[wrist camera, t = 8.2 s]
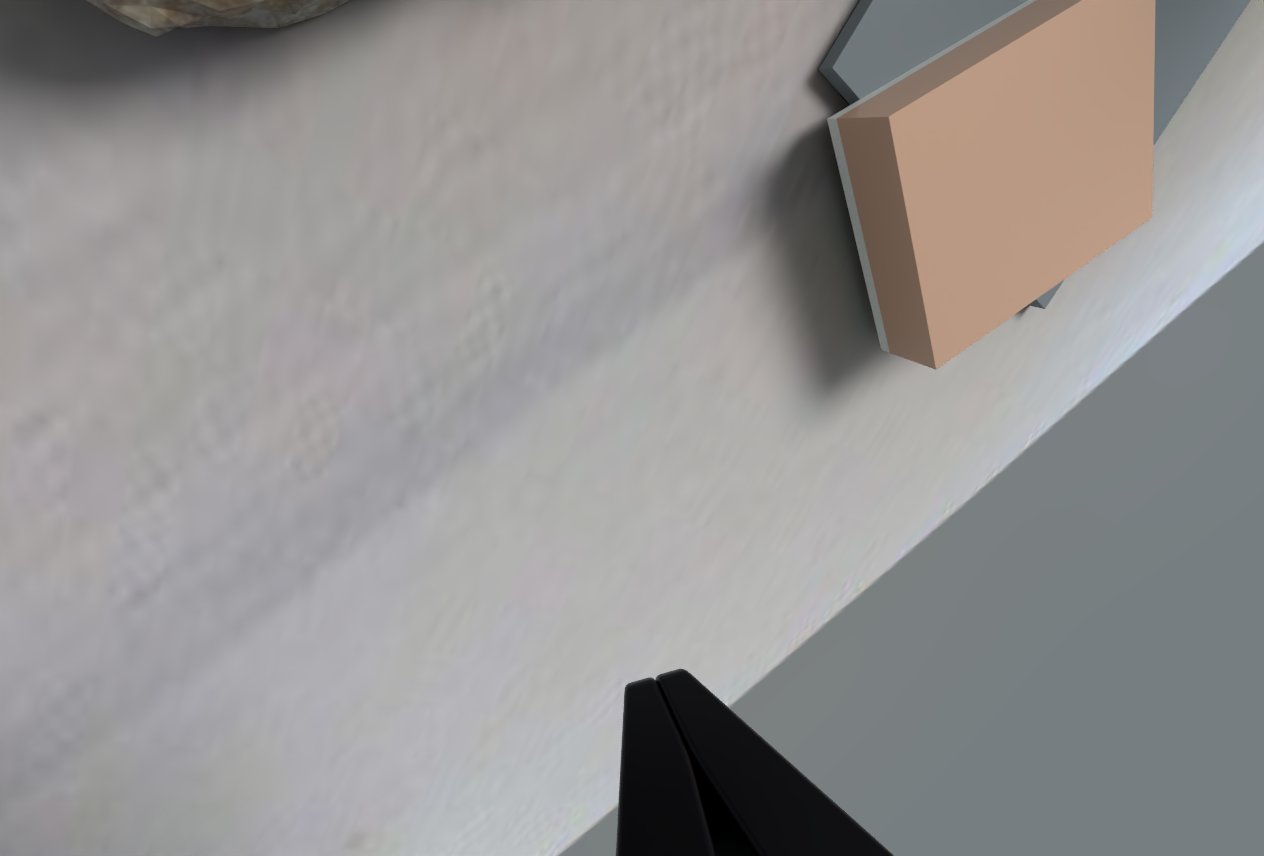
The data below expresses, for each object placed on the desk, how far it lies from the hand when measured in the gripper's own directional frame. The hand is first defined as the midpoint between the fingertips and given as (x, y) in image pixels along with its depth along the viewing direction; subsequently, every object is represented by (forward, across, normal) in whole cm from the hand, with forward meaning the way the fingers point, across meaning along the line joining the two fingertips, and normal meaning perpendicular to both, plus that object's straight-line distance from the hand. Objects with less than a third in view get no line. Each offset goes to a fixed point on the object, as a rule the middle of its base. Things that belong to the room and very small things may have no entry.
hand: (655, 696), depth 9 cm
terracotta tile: (+12, -11, -2) cm, 16 cm away
